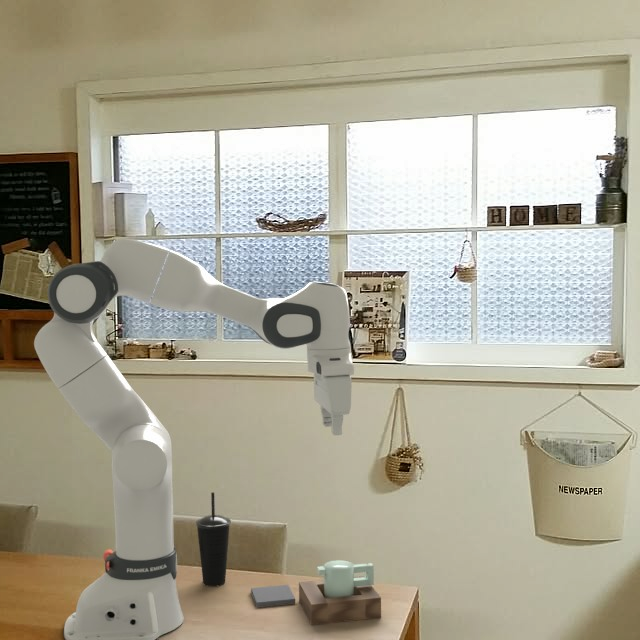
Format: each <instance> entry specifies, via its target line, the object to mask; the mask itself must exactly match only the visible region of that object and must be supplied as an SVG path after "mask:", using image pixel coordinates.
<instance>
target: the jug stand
mask: <svg viewBox="0 0 640 640" xmlns="http://www.w3.org/2000/svg"><path fill="white" fill-rule="evenodd" d="M362 577H365V575H362V576H361V575H360V576H354V578H362ZM298 592H299V593H298V601H299V603H300V606H301V607H302V609H303V612H304V613H305V616H306V617H307V619H308V621H309V623H310V624H311V626H312V625H313V626H314V625H320V624H321V625H323V624H331V623H332V624H333V623H343V622H351V621H360V620H369V619H377V618H378V619H380V618H382V597H381V595H380V594H379V593H378V592H377V591H376V589H375V588H374V587H373V585H366V586H356V587H354V596H346V597H336V598H326V599H325V598H324V579H318V580H309V581H306V580H305V581H298Z"/></svg>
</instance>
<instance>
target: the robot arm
mask: <svg viewBox="0 0 640 640" xmlns="http://www.w3.org/2000/svg"><path fill="white" fill-rule="evenodd" d="M120 296H121V297H122V296H125V297H130V298H134V299H137V300H139V301H142V302H144V303H148V304H150V305H152V306H155V307H158V308H162V309H166V310H170V311H176V312H181V313H182V312H183V313H193V312H204V313H209V314H213V315H216V316H220V317H223V318H224V319H228V320H230V321H233V322H236V323H238V324H241V325H244V326H246V327H248V328H250V329H251V330H252V331H253V332H254V333H255V334H256V335H257V336H258V337H259V338H260V340H262V341H264V342H265V343H267V344H268V345H271V346H274V347H276V348H278V349H283V350H288V349H289V350H290V349H293V348H296V347H300V346H304V345H306V352H307V353H306V354H307V355H306V356H307V357H306V358H307V371H308V372H309V373H312V374H313V398H314V400H315V402H316V403H317V404H319V405H320V412H321V416H322V425H323V426H324V427H325V428H327V427H330V428H331V434H332V435H333V436H341V435H342V434H343V427H342V426H343V421H344V416H345V415H346V416H347V415H349V414H350V412H351V407H352V384H353V383H352V382H353V381H352V376H353V375H354V374H355V366H354V363H353V359H352V346H351V342H350V339H349V338H350V337H349V331H350V327H351V319H350V318H351V317H350V305H349V300H348V294H347V292H346V289H344V287H343V286H341V285H339V284H335V283H331V282H323V281H311V282H308V284H306V286H305V287H303V288H302V289H300V290H298V291H297V292H295V293H293V294H291V295H289V296H287V297H284V298H282V297H270V298H261V297H257V296H254V295H251V294H248V293H245V292H244V291H241V290H238V289H235V288H234V287H230V286H228V285H225V284H224V283H222V282H220V281H218V280H217V279H216V278H215V277H213V276H212V275H211V274H210V273H208V271H207V270H206V269H205V268H204V267H203V266H201V265H200V264H198V263H197V262H195V261H193V260H192V259H190V258H189V257H186V256H184V255H183V254H180V253H179V252H176V251H173V250H172V249H171V250H170V249H168V248H165V247H163V246H160V245H157V244H154V243H150V242H145V241H142V240H138V239H132V238H126V237H123V238H118V239H116V240H114V241H113V242H111V244H109V245H108V247H107V248H106V249H105V252H104V253H103V256H102V258H101V259H100V260H99V261H98V260H97V261H89V262H81V263H73V264H69V265H67V266H64V267H62V268H61V269H59V270H58V271H57V272H55V274H54V275H53V276H52V277H51V279H50V281H49V284H48V287H47V301H48V303H49V307H50V308H51V310H52V311H53V313H54V314H53V317H52V319H50V321H48V322H47V323H45V324H44V325H43V326H42V327H41V328H40V329H39V331H38V332H37V334H36V335H35V338H34V341H33V346H34V350H35V351H36V354H37V356H38V359H39V360H40V363H41V364H42V366H43V368H44V370H45V371H46V373H47V374H48V376H49V378H50V380H51V382H53V384H54V386H55V387H56V388H57V389H58V391H59V392H60V394H61V395H62V396H63V397H64V399H65V400H66V402H67V403H68V404H69V406H70V407H71V408H72V410H73V411H74V412H75V413H76V415H77V417H79V419H80V420H81V422H82V423H83V424H85V425H86V426H87V427H88V428H89V429H90V430H91V431H92V432H93V433H94V434H95V435H96V436H97V438H99V439H100V440H101V442H102V443H103V444H104V445H105V446H106V447H107V448H108V449H109V451H110V452H111V461H110V462H111V479H112V494H113V495H112V496H113V497H112V498H113V506H114V529H115V532H114V534H115V536H114V537H115V551H113V550H112V549H111V548H110V549H105V550H104V552H103V557H102V558H103V560H104V568H105V572H104V573H103V574H101V575H100V576H99V577H98V578H97V579H96V580H94V581H93V582H92V583H91V584H89V585H88V586H87V587H86V588H84V590H82V592H81V594H80V596H79V598H78V601H77V603H76V609H75V611H74V612H73V613H72V614H70V615H69V616H68V617H67V618H66V621H65V623H64V629H63V637H64V639H65V640H156V639H158V638H159V637H161V636H163V635H164V634H167V633H169V632H171V631H174V630H175V629H177V628H179V627H180V626H181V624H183V622H184V620H185V618H184V617H185V616H184V614H183V611H182V608H181V604H180V601H179V595H178V589H177V587H178V586H177V582H176V579H177V574H178V554H177V551H176V549H177V548H176V547H175V545H174V541H175V540H174V538H175V537H174V497H173V496H174V495H173V494H174V493H173V450H172V448H173V447H172V439H171V436H170V434H169V431H168V430H167V429H166V427H165V426H164V425H163V424H162V423H161V421H160V420H159V419H158V417H157V416H156V414H155V413H154V412H153V411H152V410H151V409H150V407H149V406H148V405H147V404H146V403H145V401H143V399H142V397H141V396H139V394H138V393H137V392H136V391H135V390H134V389H133V387H132V386H131V385H130V383H129V382H128V381H127V379H126V377H124V375H123V374H122V373H121V371H120V370H119V368H118V367H117V366H116V364H115V363H114V362H113V360H112V358H111V357H110V356H109V355H108V354H107V352H106V351H105V350H104V348H103V347H102V345H101V343H99V341H98V339H97V337H96V336H95V334H94V330H93V326H94V324H95V323H96V322H97V321H98V320H99V318H100V317H102V315H103V314H105V312H106V311H107V309H108V308H109V305H110V303H111V301H112V300H113V299H115V298H117V297H120ZM351 375H352V376H351Z"/></svg>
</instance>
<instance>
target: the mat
mask: <svg viewBox="0 0 640 640" xmlns="http://www.w3.org/2000/svg"><path fill="white" fill-rule="evenodd" d="M250 593H251V596H252V599H253V600H254V601H253V602H254V603H255V606H256V608H264V607H266V608H267V607H274V606H285V605H292V604H296V597H295V595H294V593H293V591H292V589H291V588H290V586H289V584H279V585H272V586H271V585H270V586H260V587H251V588H250Z"/></svg>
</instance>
